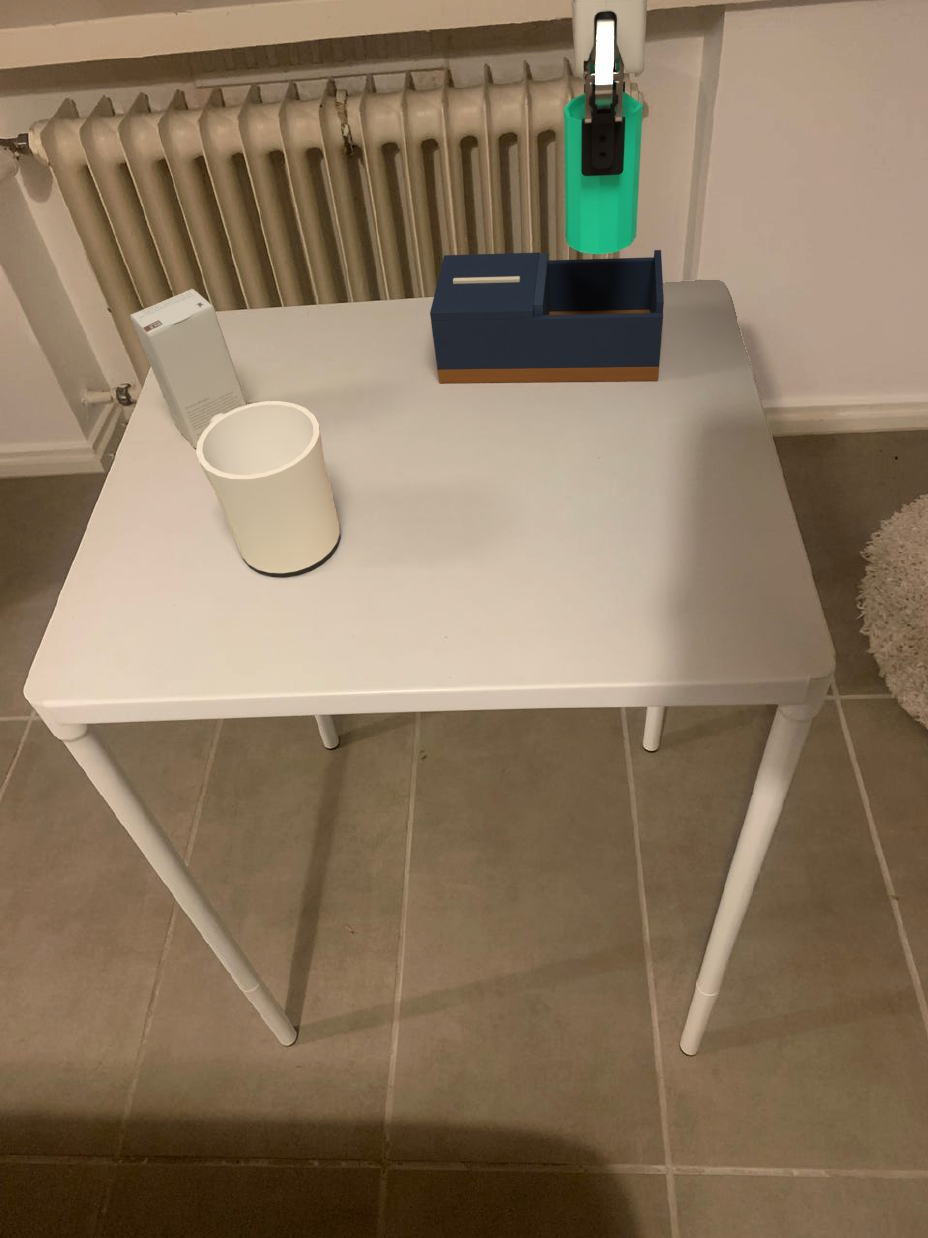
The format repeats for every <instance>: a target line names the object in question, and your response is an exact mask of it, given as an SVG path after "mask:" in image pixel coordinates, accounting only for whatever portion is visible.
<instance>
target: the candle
mask: <svg viewBox="0 0 928 1238" xmlns="http://www.w3.org/2000/svg"><path fill="white" fill-rule="evenodd" d="M643 109H644V104H643V103H641V102H640V101H639V100H636V99H635V98H633V97H632V96H631V95H630V94H628V93H627V92H626V91H625V92H623V109H622V117H625V142H624V168H623V172H622V173H621V174H619V175H601V176H584V175H583V174H582V172H581V152H582V119H585V93H584V92H583V93H582V94H580V95H578V96H576V97H574V98H572V99H570V100H569V102H568V103H567V104H566V105H565V107H563V139H564V140H563V141H564V143H563V145H564V146H563V147H564V150H563V153H564V157H563V158H564V159H563V161H564V239H565V240H566V244H567V246H568V247H570V248H571V249H573V250H576V251H577V252H579V253H585V254H592V255H604V254H611V253H618V252H619V251H622V250H624V249H626V248H628V247H630V246H632V244H633V242H634V240H635V239H636V238H637V226H638V211H639V210H638V206H639V187H640V170H641V169H640V168H641V167H640V166H641V147H642V132H643V131H642V130H643V129H642V128H643Z"/></svg>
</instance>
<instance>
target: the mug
mask: <svg viewBox="0 0 928 1238" xmlns="http://www.w3.org/2000/svg"><path fill="white" fill-rule="evenodd" d="M322 442H323V441H322V433H321V426H320V423H319V421H318V420H317V417H316V416H315V415H314V414H313V413H312V412H311V411H310V410H309V409H308V408H306V407H304V406H302V405H299V404H297V403H293V402H288V401H284V400H279V401H278V400H266V401H259V402H252V403H249V404H247V405H245V406H242V407H239V408H236V409H234V410H232V411H230V412H228V413H225V414H223V413H220V414H217V415H215V416H214V417H213V418H212V419H211V420H210V425H209V426H208V427H207V428H206V429H205V430H204V431H203V433H202V435H201V437H200V438H199V440H198V442H197V448H196V451H195V452H196V456H197V459H198V462H199V465H200V467H201V469H202V470H203V473H204V474H205V476H206V478H207V480H208V482H209V484H210V486H211V488H212V489H213V491H214V493H215V496H216V498H217V500H218V503H219V506H220V508H221V510H222V513H223V515H224V517H225V519H226V523H227V524H228V527H229V529H230V531H231V535H232V536H233V539H234V542H235V543H236V546H237V548H238V550H239V553H240V556H241V558H242V560H243V562H244V563H245V564H246V565H247V566H248V567H249V568H250V569H252V570H254V571H255V572H257V573H259V574H261V575H265V576H268V577H273V578H288V577H296V576H299V575H303V574H305V573H309V572H311V571H313V570H315V569H316V568H318V567H320V566H321V565H323V564H324V563H325V562H326V561H327V560H328V559H329V558H331V556H332V555H333V553H334V552H335V551H336V550H337V548H338V545H339V543H340V539H341V525H340V521H339V517H338V513H337V509H336V504H335V500H334V496H333V491H332V486H331V483H330V478H329V473H328V470H327V469H328V468H327V464H326V461H325V454H324V449H323V443H322Z"/></svg>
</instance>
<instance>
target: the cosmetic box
mask: <svg viewBox="0 0 928 1238" xmlns="http://www.w3.org/2000/svg"><path fill="white" fill-rule="evenodd" d="M129 318H130V320H131V321H130V322H131V323H132V325H133V328H134V330H135V333H136V335H137V337H138V340H139V342H140V344H141V347H142V349H143V351H144V353H145V356H146V358H147V361H148V363H149V365H150V367H151V370H152V373H153V375H154V377H155V379H156V382H157V384H158V387H159V389H160V392H161V394H162V397H163V399H164V401H165V403H166V405H167V408H168V410H169V413H170V415H171V418H172V420H173V422H174V424H175V425H174V426H175V427H176V428H177V429H178V431H179V432H180V433H181V434H182V436H183V437H184V438H185V439H186V440H187V441H188V442H189V444H190V445H191V446H192V447H193V448H194V449H197V442H198V440H199V438H200V437H201V435H202V433H203V431H204V430H205V429H206V428H207V427H208V426H209V425H210V420H211V419H212V418H213V417H214V416H215V415H217V414H220V413H223V414H225V413H228V412H230V411H232V410H234V409H236V408H239V407H242V406H245V405H248V404H247V402H246V398H245V395H244V392H243V389H242V387H241V384H240V381H239V378H238V374H237V372H236V369H235V365H234V363H233V360H232V357H231V354H230V351H229V348H228V345H227V342H226V339H225V336H224V333H223V330H222V328H221V326H220V322H219V320H218V315H217V312H216V309H215V307H214V305H213V304H211V303H210V302H209V301H208V300H207V299H205V298H204V296H202V295H201V294H200V293H199V292H198V291H197V290H196V289H194V288H190V289H188V290H186V291H184V292H182V293H179V294H177V295H174V296H172V297H169V298H167V299H165V300H163V301H159V302H158V303H155V304H153V305H151V306H148V307H146V308H144V309H143V308H142V309H141V310H138V311H137V312H134V313H131V314H130V315H129Z"/></svg>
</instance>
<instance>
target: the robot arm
mask: <svg viewBox="0 0 928 1238" xmlns="http://www.w3.org/2000/svg"><path fill="white" fill-rule="evenodd" d="M570 3H571V23H572V24H571V25H572V39H573V50H574V62H575V74H576V75H577V77H578V78H580V79H581V80H582V81H584V84H583V94H584V93H585V119H582V152H581V172H582V174H583V175H584V176H601V175H619V174H621V173H622V172H623V168H624V142H625V117H622V109H623V92H625V93H626V81H624V80H625V72H626V74H634V77H635V78H638V77H639V76H641V75H642V74H643V72H644V71H645V56H646V55H645V54H646V34H647V33H646V32H647V31H646V30H647V12H648V11H647V10H648V0H570ZM624 71H625V72H624Z"/></svg>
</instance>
